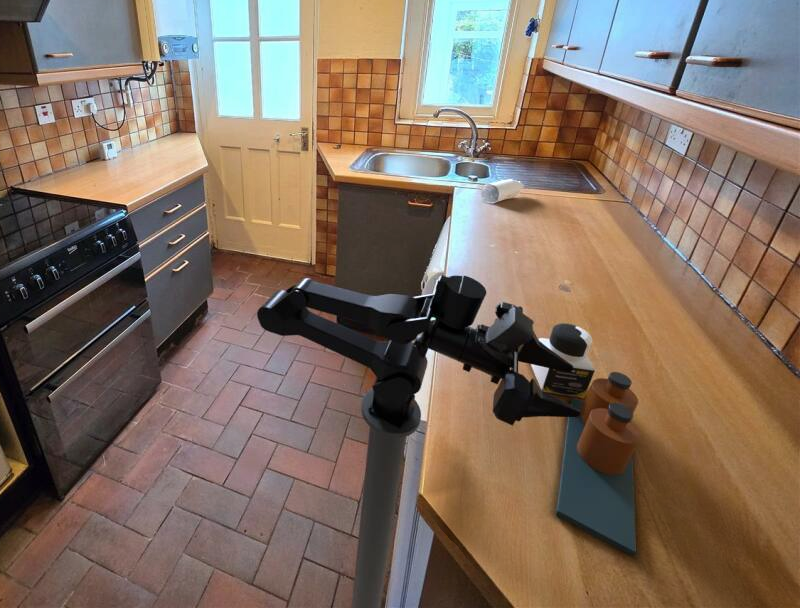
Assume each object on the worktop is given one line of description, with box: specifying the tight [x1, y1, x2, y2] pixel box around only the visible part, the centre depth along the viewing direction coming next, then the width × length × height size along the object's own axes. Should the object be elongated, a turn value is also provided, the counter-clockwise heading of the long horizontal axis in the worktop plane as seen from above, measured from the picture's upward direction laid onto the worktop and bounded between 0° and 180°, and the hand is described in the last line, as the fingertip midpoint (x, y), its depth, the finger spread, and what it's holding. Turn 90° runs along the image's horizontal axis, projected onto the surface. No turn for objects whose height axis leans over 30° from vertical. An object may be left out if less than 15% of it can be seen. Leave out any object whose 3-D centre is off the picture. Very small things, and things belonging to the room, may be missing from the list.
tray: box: [555, 396, 637, 557], centre depth 62 cm, size 8×24×1 cm, turn 144°
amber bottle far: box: [580, 371, 639, 425], centre depth 66 cm, size 6×6×10 cm
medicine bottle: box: [530, 322, 596, 399], centre depth 75 cm, size 7×7×12 cm
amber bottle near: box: [577, 403, 641, 475], centre depth 61 cm, size 6×6×10 cm
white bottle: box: [480, 178, 525, 204], centre depth 165 cm, size 8×19×8 cm, turn 117°
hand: (575, 390), depth 58 cm, fingers open, 9 cm apart
